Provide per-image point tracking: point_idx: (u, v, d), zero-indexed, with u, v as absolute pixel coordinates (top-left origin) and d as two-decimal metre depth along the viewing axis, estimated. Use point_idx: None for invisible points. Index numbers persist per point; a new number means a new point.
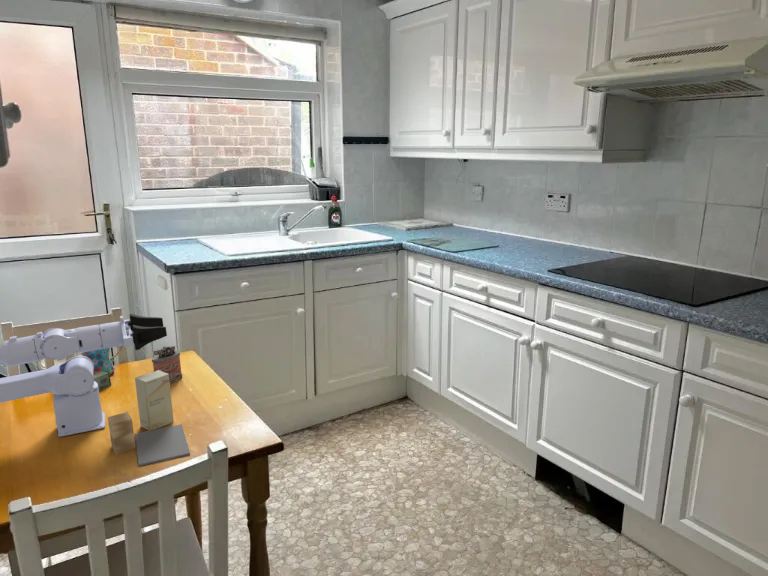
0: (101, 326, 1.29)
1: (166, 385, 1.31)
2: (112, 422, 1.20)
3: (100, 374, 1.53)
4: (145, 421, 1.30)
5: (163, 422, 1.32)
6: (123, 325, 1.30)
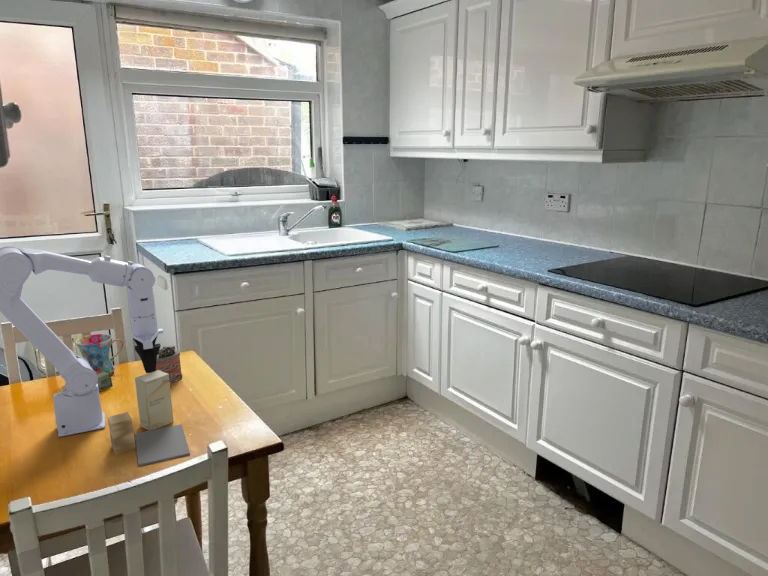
0: (155, 315, 1.37)
1: (166, 385, 1.31)
2: (112, 422, 1.20)
3: (101, 374, 1.52)
4: (145, 421, 1.30)
5: (163, 422, 1.32)
6: (157, 334, 1.37)
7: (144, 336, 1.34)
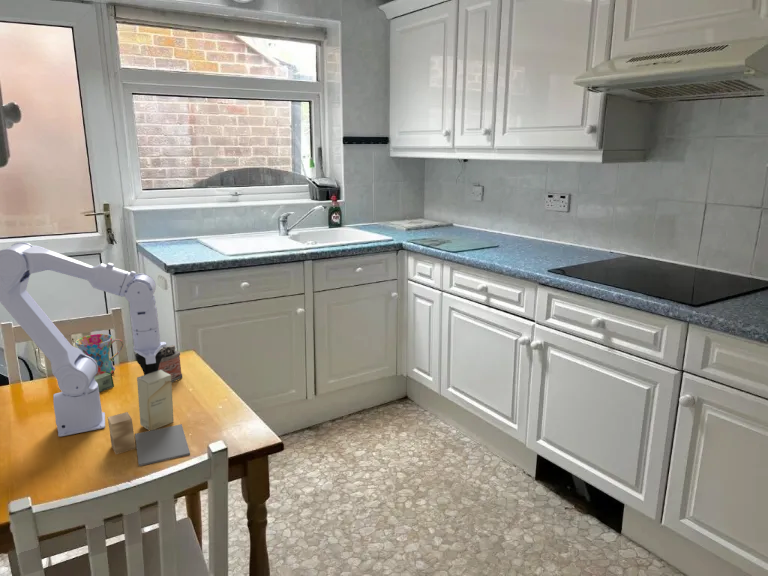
0: (158, 328, 1.32)
1: (168, 386, 1.31)
2: (112, 422, 1.20)
3: (103, 375, 1.52)
4: (146, 421, 1.30)
5: (163, 422, 1.32)
6: (160, 348, 1.32)
7: (146, 350, 1.29)
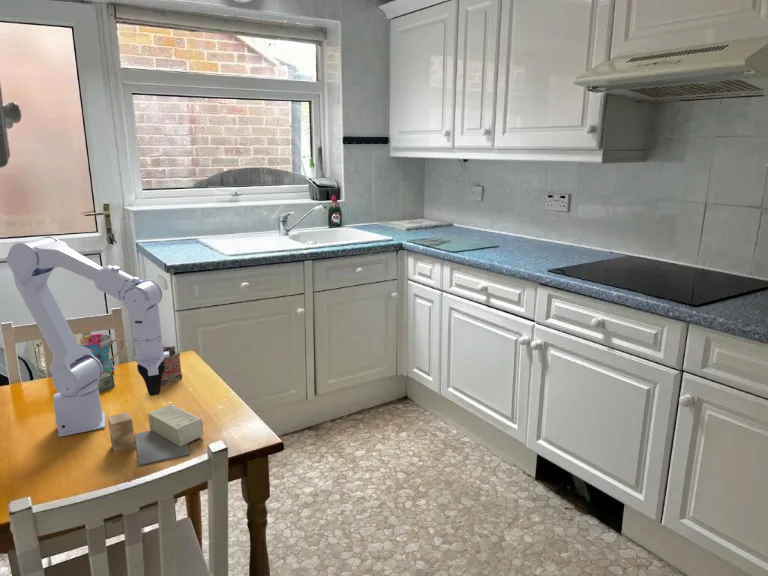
0: (161, 337, 1.25)
1: None
2: (112, 422, 1.20)
3: (104, 375, 1.52)
4: (153, 427, 1.28)
5: None
6: (163, 358, 1.25)
7: (149, 361, 1.23)
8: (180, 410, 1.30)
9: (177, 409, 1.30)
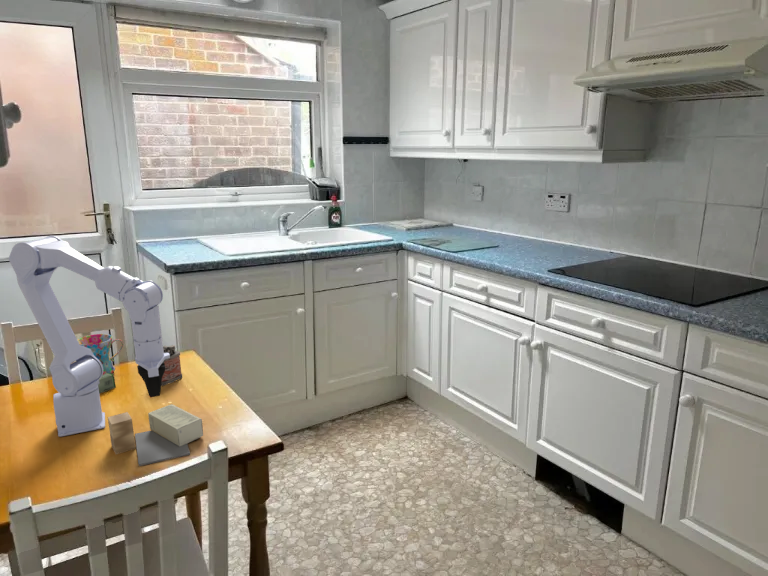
0: (161, 338, 1.25)
1: None
2: (112, 422, 1.20)
3: (104, 376, 1.51)
4: (153, 427, 1.28)
5: None
6: (163, 360, 1.25)
7: (149, 362, 1.23)
8: (180, 410, 1.30)
9: (177, 409, 1.30)
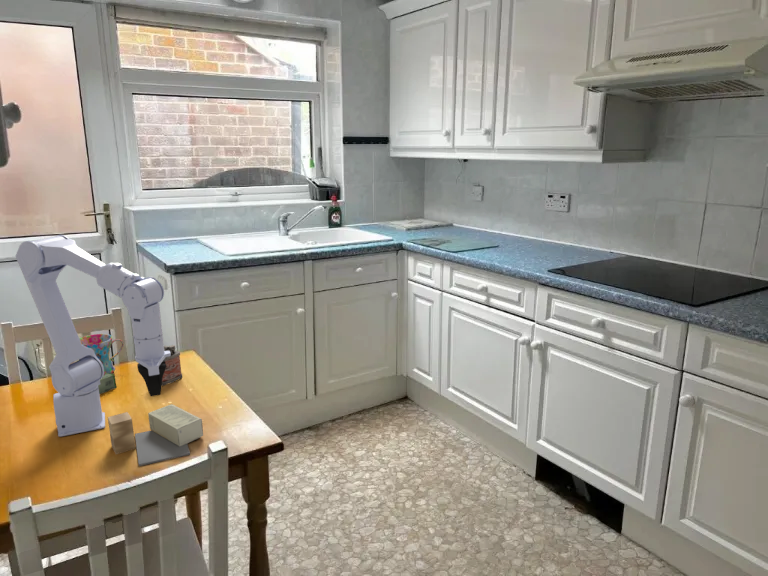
0: (162, 336, 1.22)
1: None
2: (112, 422, 1.20)
3: (105, 376, 1.51)
4: (153, 427, 1.28)
5: None
6: (163, 358, 1.22)
7: (149, 360, 1.20)
8: (180, 410, 1.30)
9: (177, 409, 1.30)
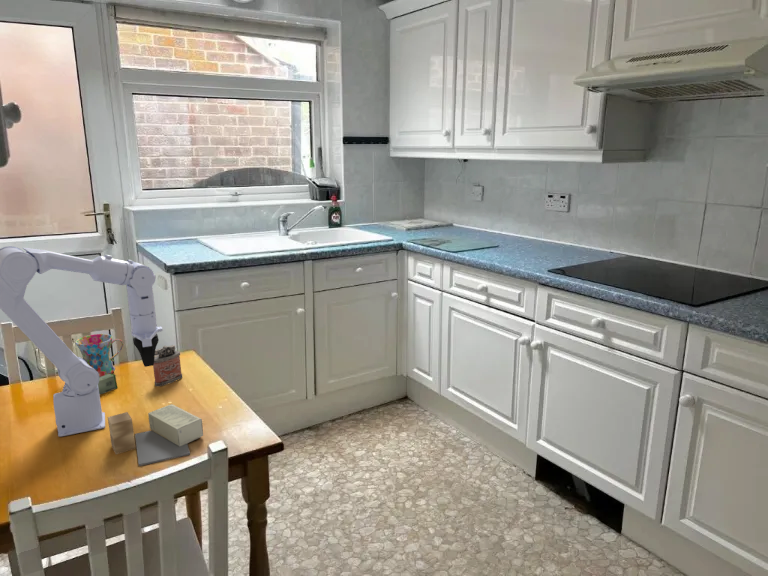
0: (154, 313, 1.38)
1: None
2: (112, 422, 1.20)
3: (106, 376, 1.51)
4: (153, 427, 1.28)
5: None
6: (156, 332, 1.38)
7: (143, 334, 1.36)
8: (180, 410, 1.30)
9: (177, 409, 1.30)
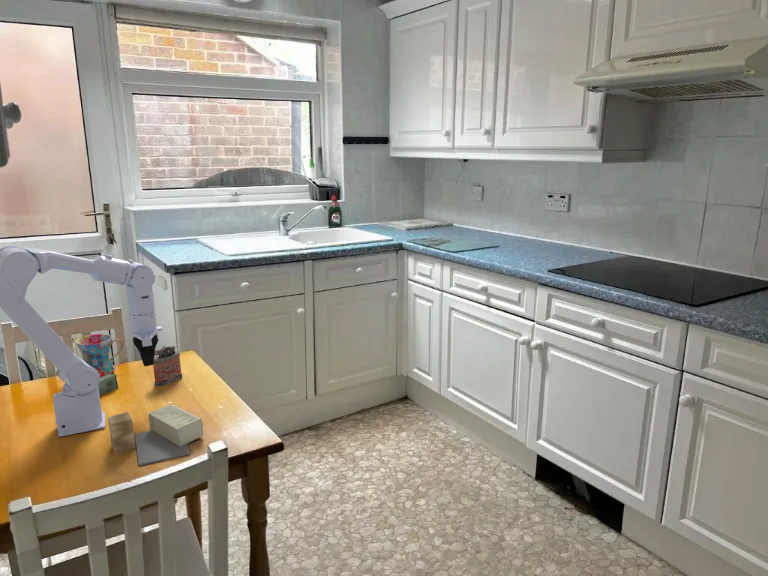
0: (154, 313, 1.38)
1: None
2: (112, 422, 1.20)
3: (107, 377, 1.51)
4: (153, 427, 1.28)
5: None
6: (156, 332, 1.38)
7: (143, 334, 1.36)
8: (180, 410, 1.30)
9: (177, 409, 1.30)
